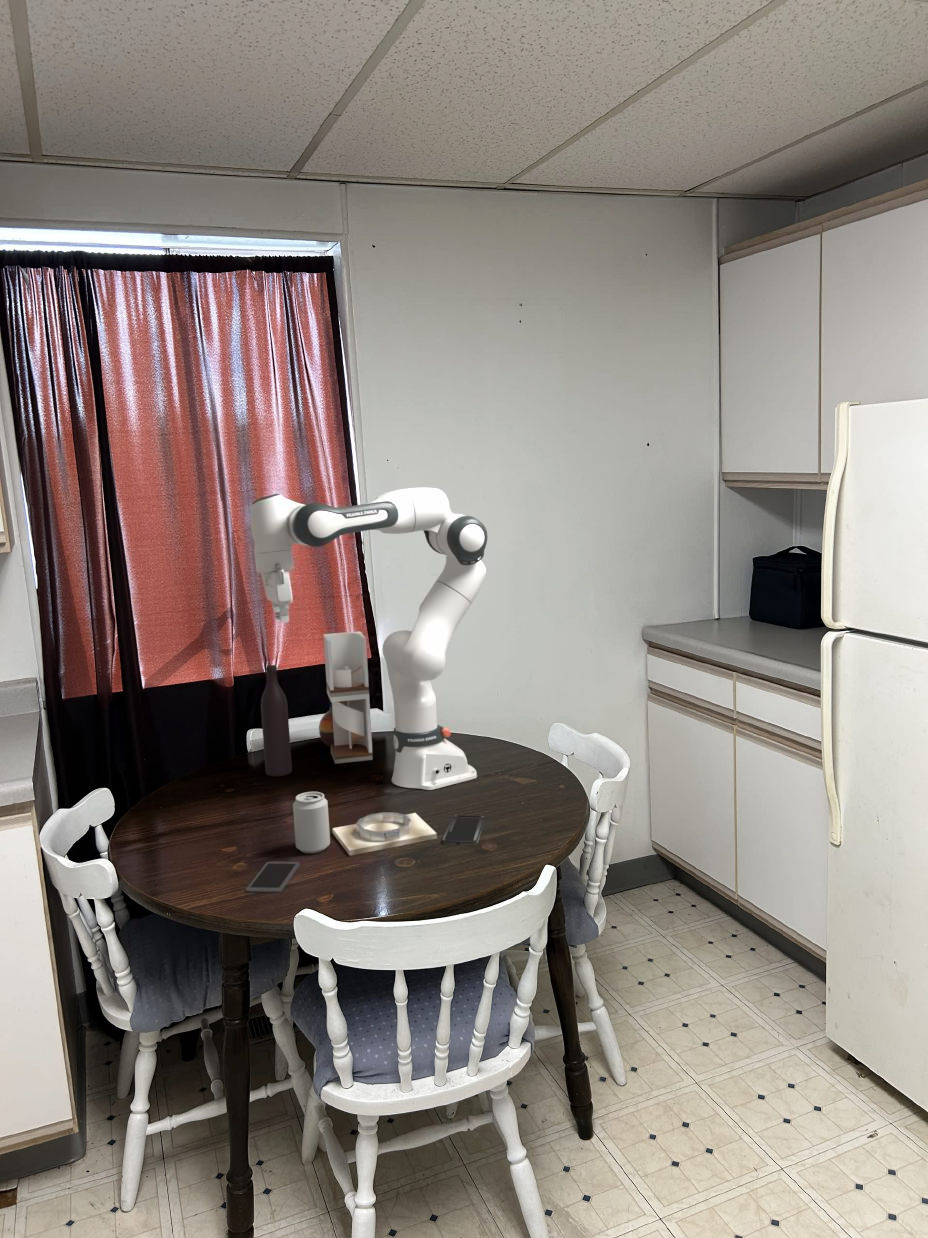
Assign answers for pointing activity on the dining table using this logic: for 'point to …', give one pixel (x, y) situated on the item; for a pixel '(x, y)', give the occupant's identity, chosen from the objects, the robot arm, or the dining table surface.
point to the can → (311, 822)
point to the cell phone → (273, 877)
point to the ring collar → (383, 835)
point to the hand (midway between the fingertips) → (282, 620)
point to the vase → (327, 727)
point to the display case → (348, 696)
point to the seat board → (359, 846)
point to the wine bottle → (275, 727)
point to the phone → (464, 830)
